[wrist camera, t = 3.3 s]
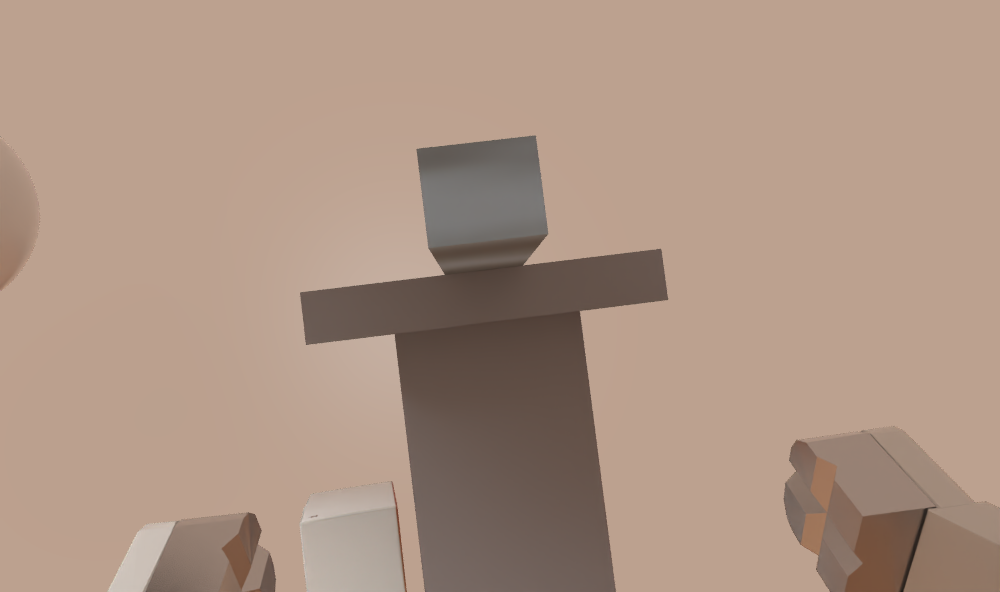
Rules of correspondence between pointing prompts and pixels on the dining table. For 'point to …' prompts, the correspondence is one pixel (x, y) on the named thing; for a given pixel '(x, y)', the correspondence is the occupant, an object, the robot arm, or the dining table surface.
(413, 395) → the plinth
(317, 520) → the small box
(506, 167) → the block
